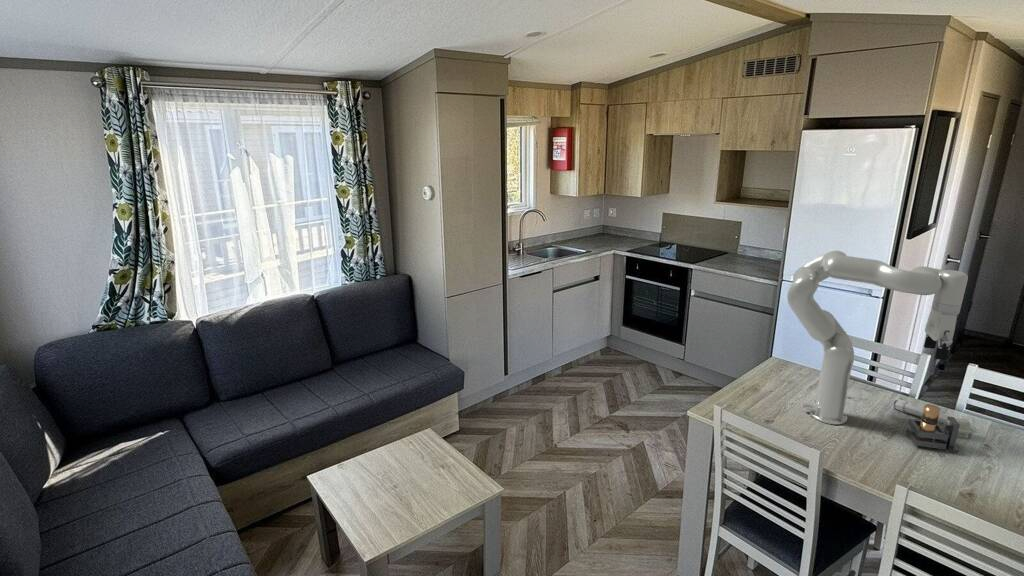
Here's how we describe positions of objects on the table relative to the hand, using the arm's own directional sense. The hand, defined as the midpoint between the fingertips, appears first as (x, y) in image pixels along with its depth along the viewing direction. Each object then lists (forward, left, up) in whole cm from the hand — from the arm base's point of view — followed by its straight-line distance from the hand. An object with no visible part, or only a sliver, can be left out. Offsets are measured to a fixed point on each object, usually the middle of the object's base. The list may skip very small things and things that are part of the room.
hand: (934, 353), depth 186 cm
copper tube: (0, -6, -32) cm, 32 cm away
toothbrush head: (+8, +9, -32) cm, 34 cm away
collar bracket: (+2, -6, -32) cm, 32 cm away
